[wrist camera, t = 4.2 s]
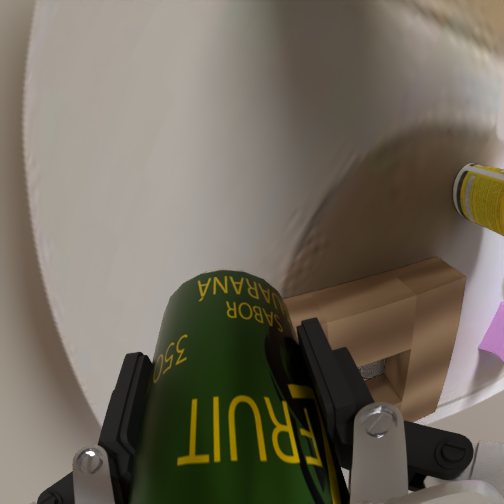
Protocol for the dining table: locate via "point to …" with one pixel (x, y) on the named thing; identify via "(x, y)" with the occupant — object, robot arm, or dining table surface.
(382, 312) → the holder block
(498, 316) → the toy chair
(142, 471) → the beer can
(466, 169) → the supplement bottle
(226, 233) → the dining table surface
